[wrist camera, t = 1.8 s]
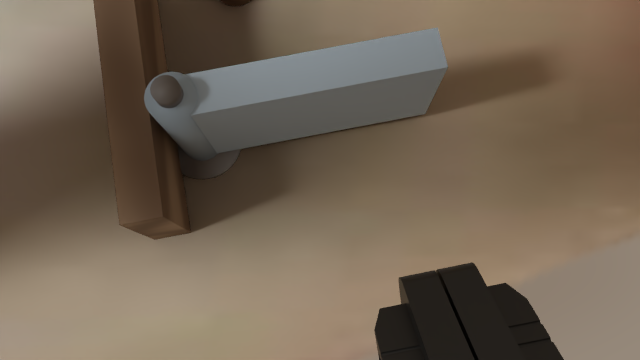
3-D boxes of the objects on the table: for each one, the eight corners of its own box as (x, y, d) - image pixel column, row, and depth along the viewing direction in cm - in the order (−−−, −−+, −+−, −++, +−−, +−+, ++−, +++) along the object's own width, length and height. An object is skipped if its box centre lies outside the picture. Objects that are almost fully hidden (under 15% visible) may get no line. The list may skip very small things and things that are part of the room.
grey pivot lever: (184, 164, 35) (147, 125, 28) (179, 124, 36) (141, 76, 29) (425, 118, 36) (449, 69, 29) (415, 80, 36) (437, 22, 29)
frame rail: (154, 239, 35) (97, 215, 26) (124, 3, 38) (64, -86, 30) (256, 220, 35) (232, 190, 26) (216, -14, 38) (184, -107, 30)
